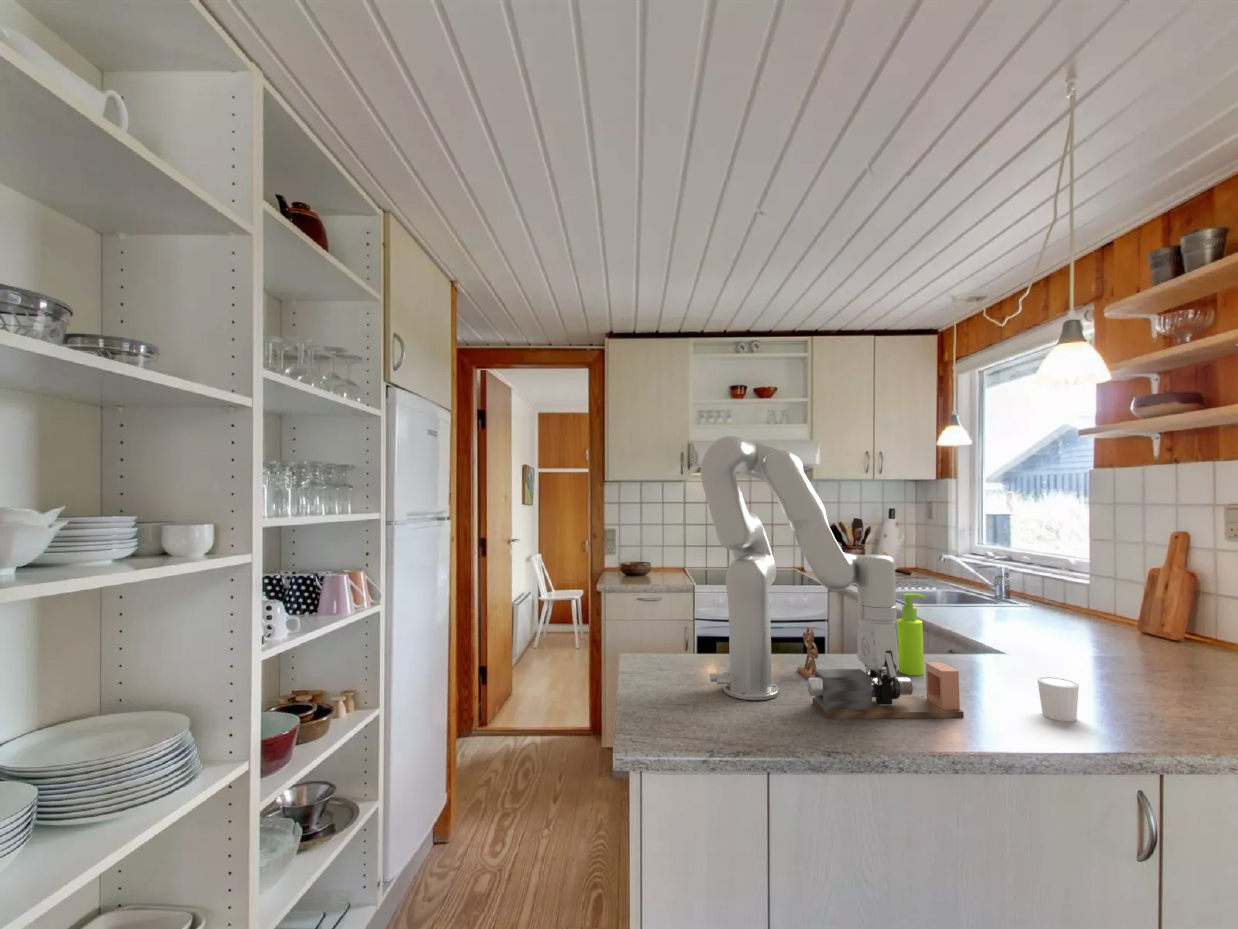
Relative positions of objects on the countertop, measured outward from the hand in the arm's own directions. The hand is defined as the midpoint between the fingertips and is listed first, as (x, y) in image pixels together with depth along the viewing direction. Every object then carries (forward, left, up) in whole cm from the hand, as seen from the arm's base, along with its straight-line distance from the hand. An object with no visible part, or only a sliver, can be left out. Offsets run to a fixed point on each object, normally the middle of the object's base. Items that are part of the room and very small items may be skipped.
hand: (879, 699), depth 125 cm
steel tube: (-4, 0, 0) cm, 4 cm away
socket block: (+13, 0, -1) cm, 13 cm away
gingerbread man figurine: (-7, +24, -3) cm, 25 cm away
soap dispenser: (+20, +26, -2) cm, 33 cm away
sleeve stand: (+1, 0, -2) cm, 3 cm away
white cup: (+35, -4, -2) cm, 36 cm away
